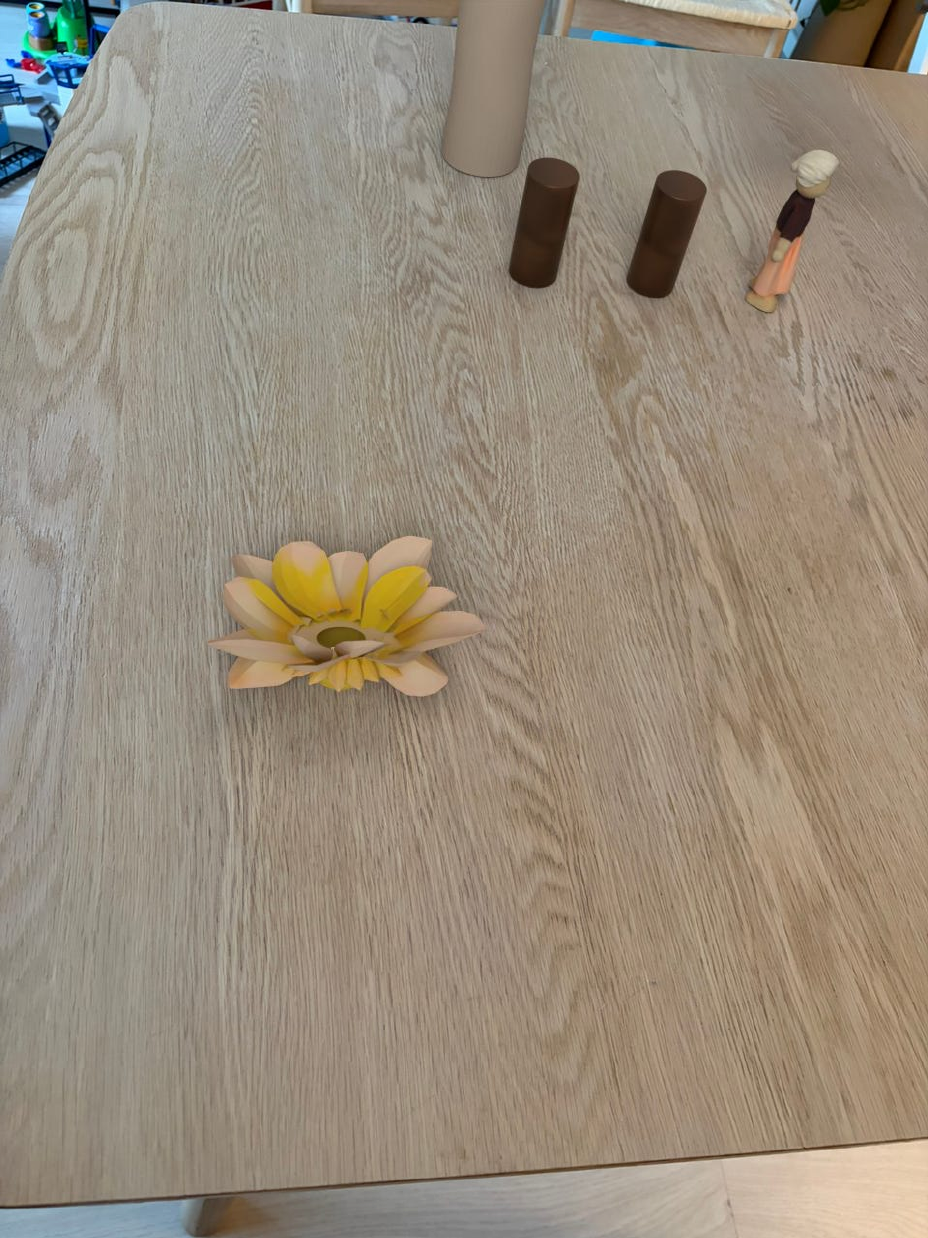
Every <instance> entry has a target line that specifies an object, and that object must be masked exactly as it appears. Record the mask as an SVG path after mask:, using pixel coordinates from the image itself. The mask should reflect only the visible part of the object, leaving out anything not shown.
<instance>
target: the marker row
mask: <svg viewBox="0 0 928 1238" xmlns="http://www.w3.org/2000/svg"><path fill="white" fill-rule="evenodd" d="M580 178H581V176H580V173H579V170H578V169H577V168H576V166H574V165H573V164H571V162H568V161H566V160H564V159H560V158H556V157H539V158H536V159H533V160H532V161H531V162H530V163H528V166H527V170H526V175H525V180H524V181H525V182H524V186H523V191H522V197H521V202H520V207H519V211H518V217H517V218H518V219H517V223H516V228H515V234H514V239H513V243H512V250H511V254H510V260H509V265H508V273H509V275H510V277H511V279H513V281H514V282H516V283H518V284H519V285H520V286H521V285H522V286H524V287H527V288H531V289H543V288H548V287H550V286H551V285H553V284H554V283H555V281H556V280H557V277H558V272H559V267H560V263H561V258H562V254H563V251H564V246H565V242H566V238H567V233H568V229H569V225H570V221H571V218H572V212H573V208H574V204H575V201H576V200H575V199H576V195H577V191H578V187H579V182H580ZM707 192H708V189H707V186H706V184H705V182H704V181H703V180H702V179H700V178H699V177H698V176H697V175H695V174H692V173H690V172H687V171H683V170H679V169H678V170H677V169H669V170H664V171H661V172H660V173H659V174H658V175H657V176H656V178H655V181H654V184H653V188H652V192H651V195H650V198H649V201H648V204H647V208H646V211H645V215H644V217H643V222H642V224H641V228H640V231H639V235H638V238H637V241H636V244H635V247H634V250H633V254H632V257H631V261H630V264H629V268H628V272H627V275H626V283H627V285H628V286H629V288H630V289H631V290H633V291H634V292H635V293H637V294H639V295H640V296H643V297H645V298H651V299H659V298H660V299H661V298H664V297H667V296H669V295H670V294H671V293H672V292H673V291H674V288H675V285H676V281H677V279H678V275H679V274H680V270H681V267H682V265H683V262H684V259H685V256H686V253H687V251H688V247H689V244H690V241H691V238H692V236H693V233H694V229H695V227H696V224H697V223H698V222H697V221H698V218H699V215H700V212H701V210H702V207H703V204H704V202H705V198H706V196H707Z"/></svg>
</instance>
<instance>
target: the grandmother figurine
mask: <svg viewBox="0 0 928 1238" xmlns="http://www.w3.org/2000/svg"><path fill="white" fill-rule="evenodd" d="M839 163H840V161H839V159H838V158H837V156H835V155H834V154H833V153H832V152H830V151H827V150H823V149H813V150H810V151H809V152H806V153H804V154H802V155H801V156H800V157H799V158H796V160H794V161H793V162H792V164H791V165H790V171H791V172H792V173H795V187H796V189H794V191H792V192H791V194H790V196H789V197H788V198H787V200H786V201H785V202H784V204H783V205H782V207H781V210H780V211H779V212H780V213H779V215H778V216H777V219H776V223H775V224H776V225H775V227H774V230H773V232H772V235H771V238H770V240H769V245H768V249H767V250H768V251H767V256H766V257H765V260H764V261H763V262H762V264H761V266H760V267H759V269H758V272H757V274H756V275H755V276H753V277H751V278H750V279H749V282H748V285H749V287H750V288H751V289H752V290H750V291H749V292H747V293H746V295H745V297H744V299H745V302H747V303H748V304H750V305H751V306H753V307H754V308H756V309H758V310H759V311H762V312H764V313H774V312H775V311H776V310H777V309H778V300H777V298H776V297H775V296H778V295H785V294H787V293H789V291H791V287H792V285H793V282H794V279H795V275H796V272H797V268H798V266H799V265H798V264H799V260H800V256H801V252H802V246H803V241H804V233H805V230H806V228H807V227H808V224H809V223H810V221H811V218H812V214H813V209H814V207H815V204H816V198H817V199H818V198H819V197H821V196H823V195H824V194H826V192H827V190H828V189H829V188H830V185H831V182H832V175H833V173H835V172H836V170H837V169H838V166H839Z"/></svg>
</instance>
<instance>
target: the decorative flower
mask: <svg viewBox="0 0 928 1238" xmlns="http://www.w3.org/2000/svg"><path fill="white" fill-rule="evenodd" d="M432 549H433V540H431V539H429V538H427V537H420V536H415V535H406V536H402V537H399V538H396V539H392V540H391V541H389V542H388V543H387V544H385V545H383V547H381V548H379V549H378V550H377V551H376V552H374V553H373V555H372V556H371V557H370V559H369V561H367V558H366V557H365V554H364V553H363V552H358V551H351V550H346V551H339V552H334V553H332V554H331V555H329V556H328V557H327V554H326V552H325V551H324V550H323V549H322V548H320V547H319V546H318V545H316V544H315V543H314V542H312V541H311V540H305V541H292V542H289V543H287V544H285V545H283V546H281V547H279V549H278V551H277V553H276V554H275V555H274V558H273V560H269V559H265V558H262V557H259V556H256V555H255V556H254V555H249V554H244V553H238V554H234V555H233V556H231V558H230V560H231V565H232V568H233V569H234V571H235V573H236V575H237V576H236V577H235V578H233V579H232V580H230V581H227V582H226V583H225V584H224V586H223V590H222V594H221V595H222V600H223V605H224V607H225V608H226V610H227V612H228V614H229V616H230V617H231V618H232V619H233V620H234V621H235V622H236V623H237V624H238V625H239V626H240V627H241V628H242V629H240V630H237V631H234V632H232V633H228V634H226V635H223V636H221V637H218V638H214V639H211V640H208V641H207V642H205V643H203V645H206V646H207V647H208V646H209V647H211V648H214V649H217V650H221V651H222V652H225V653H228V654H231V655H234V656H236V657H237V658H236V659H235V660H234V662H233V664H232V666H231V667H230V669H229V671H228V673H227V685H228V687H229V689H237V690H238V689H239V690H240V689H254V688H255V689H256V688H266V687H267V688H268V687H278V686H279V687H280V686H281V685H283V684H286V683H288V682H289V681H290V680H292V679H293V678H294V677H303V676H307V675H308V682H307V685H308V686H311V685H314V684H317V683H318V684H320V685H321V686H322V687H325V688H327V689H330V690H333V691H337V692H338V693H340V692H342V691H343V692H344V691H348V690H351V689H355V690H357V691H362V689H363V686H364V684H365V681H371V682H376V683H380V678H381V679H384V680H386V682H387V683H388V684H389V685H391V686H392V687H393V688H394V689H396V690H398V691H399V692H401V693H403V694H404V695H406V696H409V697H412V696H413V697H422V698H423V697H427V696H431V695H435V694H436V693H438V691H440V690H441V689H443V688H444V687H445V685H447V683H448V681H449V677H448V675H447V674H446V673H445V672H444V670H443V669H442V667H440V665H439V664H438V663H437V662H436V660H434V659H433V658H432V656H430V654H429V653H428V652H427V651H431V650H434V649H437V648H441V647H442V648H443V647H445V646H449V645H453V644H455V643H458V642H461V641H463V640H466V639H468V638H470V637H473V636H475V635H478V634H480V633H484V632H486V631H487V627H486V625H485V624H484V623H483V622H482V621H481V620H480V618H479V617H478V616H477V615H476V614H473V613H471V612H467V611H462V610H450V611H449V610H448V611H441V610H442V609H444V608H445V607H446V606H448V605H449V604H450V603H452V602H453V601H454V600H456V599H457V597H458V595H457V594H456V593H455V592H453V591H451V590H449V589H448V588H446V587H444V586H429V585H430V584H431V581H432V579H433V578H432V576H431V574H430V573H429V572H428V568H429V564H430V560H431V555H432ZM331 647H335V648H334V650H333V649H331Z"/></svg>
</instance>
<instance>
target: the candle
mask: <svg viewBox="0 0 928 1238" xmlns="http://www.w3.org/2000/svg"><path fill="white" fill-rule="evenodd" d="M546 2H547V0H459V5H458V11H457V21H456V35H455V46H454V57H453V58H454V59H453V72H452V73H453V74H452V81H451V82H452V83H451V90H450V96H449V103H448V107H447V113H446V118H445V123H444V129H443V135H442V141H441V149H440V150H441V155H442V158H443V159H444V161H445V162H446V163H447V164H448V165H450V166H451V167H452V168H454V169H455V170H457V171H459V172H462V173H464V174H466V175H470V176H474V177H480V178H497V177H502V176H505V175H508V174H510V173H512V172H513V171H515V170H516V168H518V166H519V164H520V159H521V154H522V148H523V143H524V140H525V134H526V133H525V131H526V124H527V117H528V109H529V100H530V93H531V83H532V75H533V74H532V73H533V66H534V61H535V60H534V59H535V53H536V47H537V44H538V43H537V42H538V37H539V32H540V28H541V24H542V20H543V14H544V11H545V7H546Z"/></svg>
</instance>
